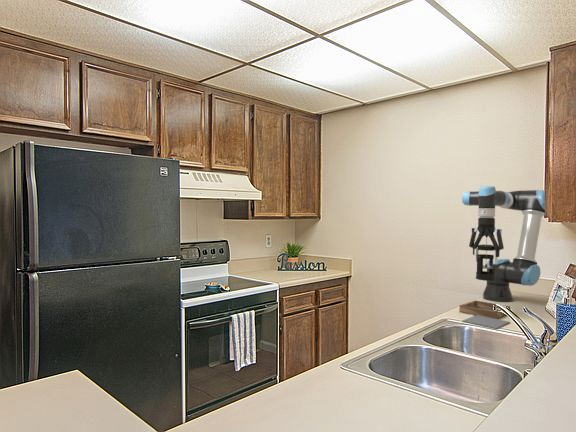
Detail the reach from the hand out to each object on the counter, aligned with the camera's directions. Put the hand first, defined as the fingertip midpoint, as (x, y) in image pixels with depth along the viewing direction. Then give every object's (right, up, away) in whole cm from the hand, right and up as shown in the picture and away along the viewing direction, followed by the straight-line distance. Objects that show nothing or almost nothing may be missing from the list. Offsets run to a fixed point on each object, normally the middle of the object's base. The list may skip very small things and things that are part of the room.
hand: (485, 262), depth 205 cm
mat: (-8, -26, -17) cm, 31 cm away
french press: (0, -9, 0) cm, 9 cm away
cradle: (0, -25, +1) cm, 25 cm away
